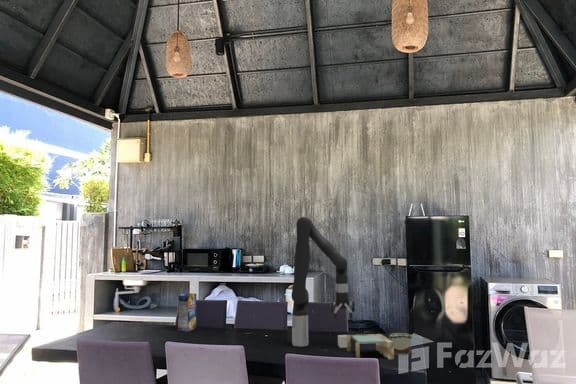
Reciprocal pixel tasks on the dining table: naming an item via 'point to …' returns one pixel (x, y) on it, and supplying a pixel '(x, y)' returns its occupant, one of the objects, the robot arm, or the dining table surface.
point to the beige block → (342, 341)
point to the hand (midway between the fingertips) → (342, 319)
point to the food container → (401, 342)
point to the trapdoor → (368, 339)
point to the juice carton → (187, 312)
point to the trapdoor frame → (383, 348)
